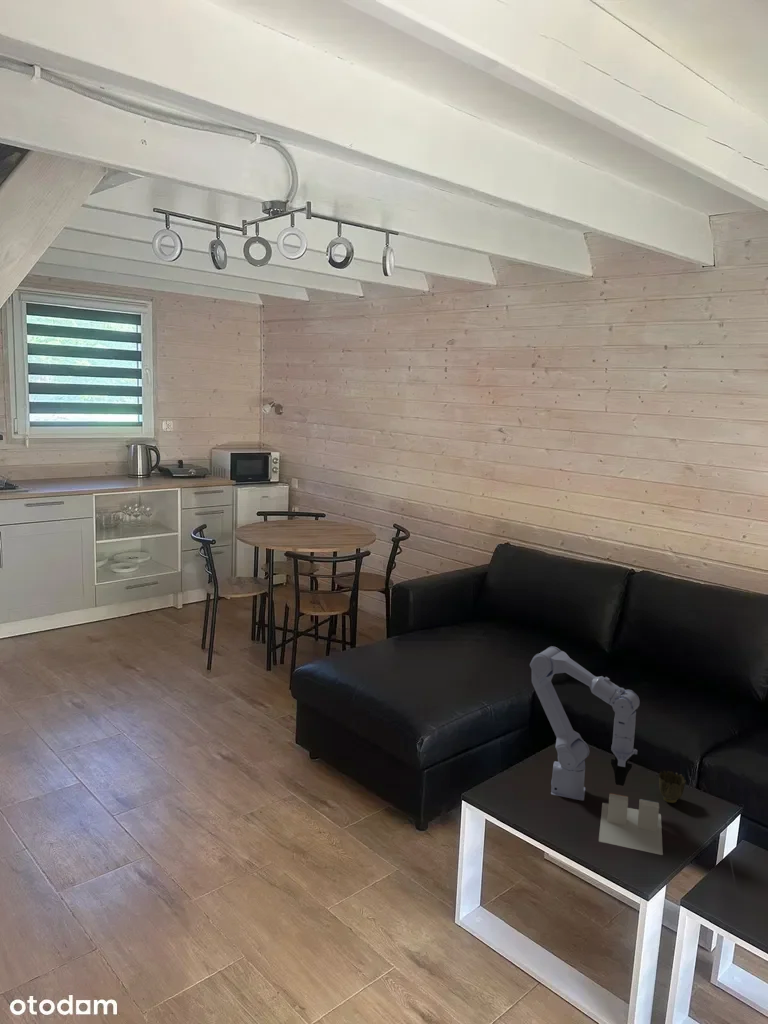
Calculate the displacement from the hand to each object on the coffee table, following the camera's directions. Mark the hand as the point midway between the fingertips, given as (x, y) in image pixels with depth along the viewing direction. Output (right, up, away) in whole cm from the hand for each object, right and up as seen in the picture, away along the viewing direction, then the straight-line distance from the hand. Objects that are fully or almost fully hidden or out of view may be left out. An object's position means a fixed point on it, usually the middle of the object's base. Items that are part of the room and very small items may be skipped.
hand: (620, 778), depth 207 cm
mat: (0, -11, -8) cm, 14 cm away
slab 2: (+5, -11, -7) cm, 14 cm away
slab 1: (-2, -10, -5) cm, 11 cm away
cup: (+17, -10, +7) cm, 21 cm away
